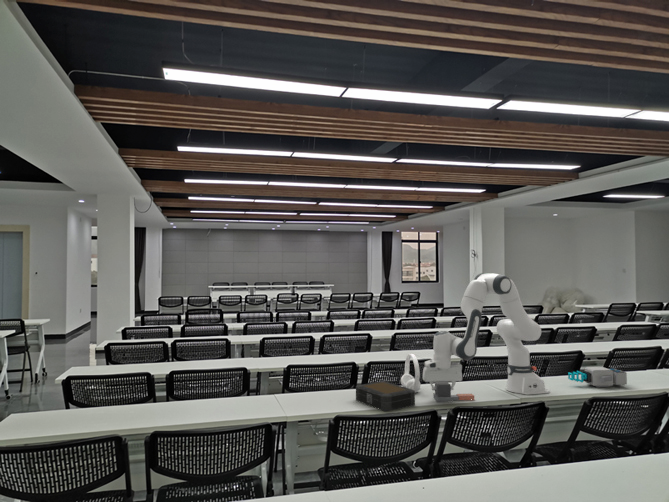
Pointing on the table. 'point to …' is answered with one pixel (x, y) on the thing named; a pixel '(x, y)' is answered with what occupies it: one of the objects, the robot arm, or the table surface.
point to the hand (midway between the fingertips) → (442, 390)
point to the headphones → (408, 379)
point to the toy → (600, 376)
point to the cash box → (385, 395)
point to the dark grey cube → (442, 389)
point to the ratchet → (453, 397)
